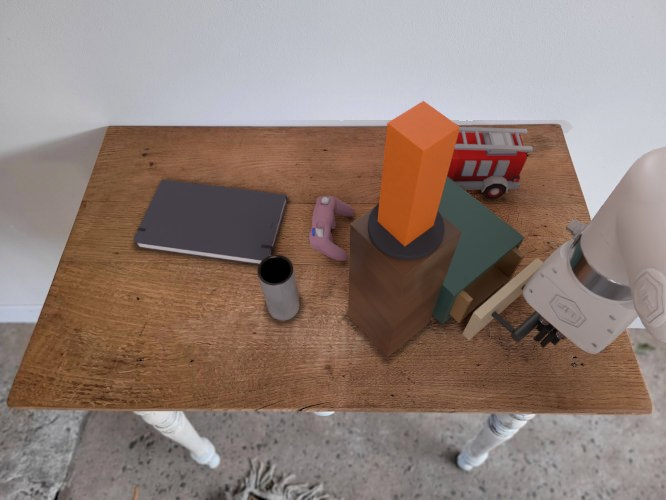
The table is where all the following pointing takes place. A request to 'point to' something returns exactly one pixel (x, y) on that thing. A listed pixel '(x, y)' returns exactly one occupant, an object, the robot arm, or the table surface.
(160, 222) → the notebook
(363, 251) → the stand
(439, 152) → the block
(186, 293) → the table surface
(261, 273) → the planter
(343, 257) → the video game controller
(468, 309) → the drawer
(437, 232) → the coaster
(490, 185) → the toy fire truck
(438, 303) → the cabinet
